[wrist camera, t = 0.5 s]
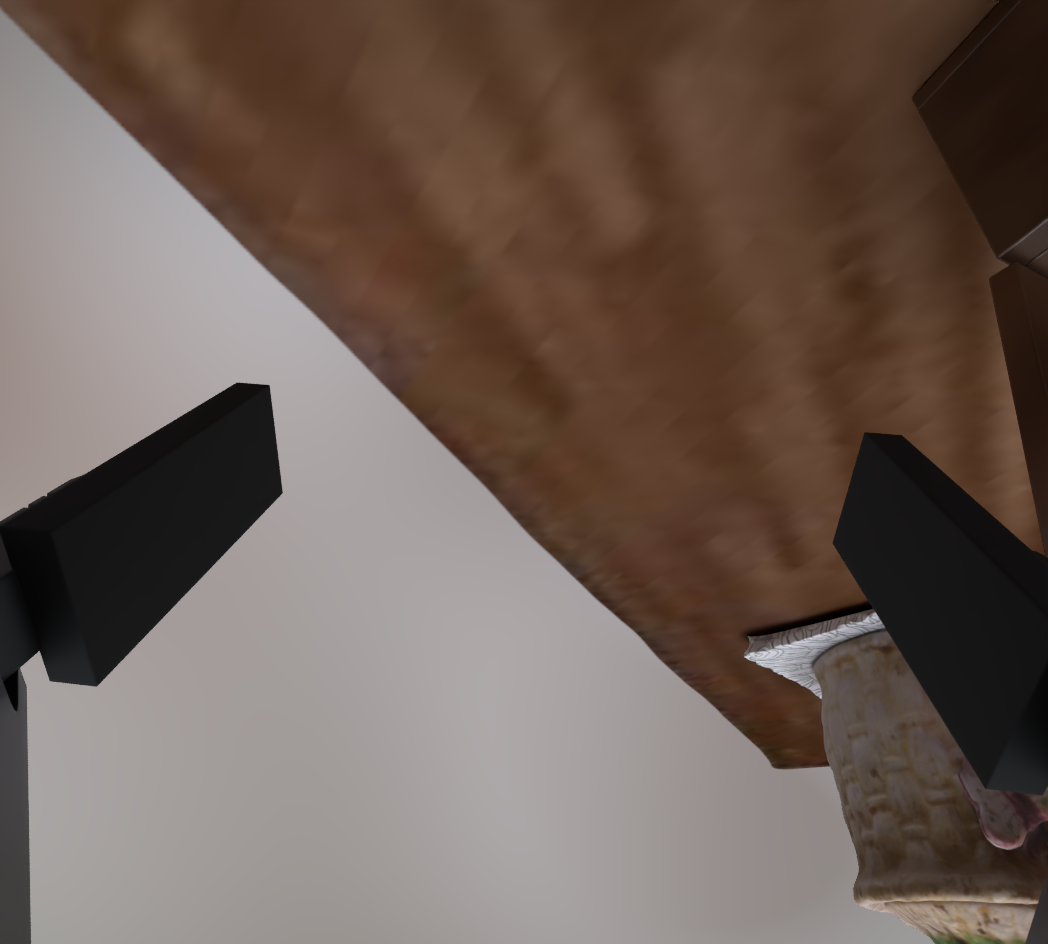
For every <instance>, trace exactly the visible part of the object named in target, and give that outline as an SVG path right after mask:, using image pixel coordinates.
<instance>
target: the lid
mask: <svg viewBox="0 0 1048 944" xmlns="http://www.w3.org/2000/svg"><path fill="white" fill-rule="evenodd" d="M989 282H990V287H991V292H992V297H993V302H994V307H995V312H996V316H997V321H998V326H999V331H1000V336H1001V341H1002V346H1003V351H1004V356H1005V361H1006V365H1007V370H1008V375H1009V380H1010V385H1011V390H1012V395H1013V400H1014V405H1015V410H1016V414H1017V419H1018V424H1019V429H1020V434H1021V439H1022V444H1023V449H1024V454H1025V459H1026V463H1027V468H1028V473H1029V478H1030V483H1031V488H1032V493H1033V498H1034V503H1035V508H1036V513H1037V517H1038V522H1039V527H1040V532H1041V537H1042V542H1043V547H1044V552H1045V557H1047V558H1048V280H1047V279H1046V278H1044V277H1042V276H1040V275H1039V274H1037V273H1035V272H1034V271H1032V270H1030V269H1028V268H1027V267H1025V266H1023V265H1021V264H1020V263H1018V262H1015V263H1013V264H1011V265H1009V266H1008V267H1006V268H1005V269H1003V270H1001V271H1000V272H998V273H996V274H995V275H993V276H991V277H990V278H989Z"/></svg>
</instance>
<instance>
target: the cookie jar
mask: <svg viewBox="0 0 1048 944" xmlns="http://www.w3.org/2000/svg"><path fill="white" fill-rule="evenodd" d="M748 638H749V641H750V644H749V647H748V649H747V650H746V652H745V653H744V657H745V658H747V659H749V660H751V661H755V662H756V663H757V664H758V665H761V666H763V667H765V668H770V669H772V670H773V671H774V672H776V673H778V674H779V675H783V676H784V677H786V678H788V679H790V680H793V681H796V682H797V683H799V684H800V685H802V686H804V687H807V688H808V689H810V690H811V691H812V692H813V693H814V694H815V695H816V696H819V698H820V699H822V724H823V728H824V746H825V751H826V755H827V760H828V762H829V764H830V767H831V769H832V770H833V773H834V777H835V781H836V785H837V789H838V791H839V793H840V799H841V806H842V811H843V815H844V819H845V822H846V824H847V826H848V829H849V832H850V835H851V838H852V842H853V844H854V846H855V849H856V853H857V859H858V865H859V873H858V876H857V879H856V882H855V884H854V888H853V890H854V900H855V902H856V903H857V904H858V905H860V906H861V907H863V908H867V909H872V910H875V911H878V912H889V913H891V914H895V915H896V916H897V917H898V918H899V919H900V920H901V921H902V922H904V923H905V924H906V925H908V926H910V927H912V928H915V929H917V930H919V931H920V932H922V933H924V934H926V935H927V936H929V937H930V938H931V939H932V940H933V942H934V943H935V944H1025V942H1026V939H1027V936H1028V933H1029V930H1030V927H1031V923H1032V920H1033V917H1034V914H1035V911H1036V908H1037V905H1038V901H1039V898H1040V895H1041V892H1042V889H1043V886H1044V882H1045V879H1046V876H1047V873H1048V846H1047V843H1048V787H1047V789H1046V790H1045V792H1044V794H1043V795H1034V794H1025V793H1017V792H1008V791H999V790H991V789H985V788H984V786H983V784H982V783H981V781H980V780H979V778H978V776H977V775H976V773H975V772H974V770H973V768H972V767H971V765H970V764H969V762H968V760H967V759H966V757H965V755H964V754H963V752H962V751H961V749H960V747H959V746H958V744H957V743H956V741H955V739H954V738H953V736H952V735H951V733H950V731H949V730H948V728H947V727H946V725H945V723H944V722H943V720H942V718H941V717H940V715H939V714H938V712H937V710H936V709H935V707H934V706H933V704H932V702H931V701H930V699H929V698H928V696H927V694H926V693H925V691H924V690H923V688H922V686H921V685H920V683H919V681H918V680H917V678H916V677H915V675H914V673H913V672H912V670H911V669H910V667H909V665H908V664H907V662H906V661H905V659H904V657H903V656H902V654H901V653H900V651H899V649H898V648H897V646H896V644H895V643H894V641H893V640H892V638H891V636H890V635H889V633H888V632H887V630H886V628H885V627H884V625H883V624H882V622H881V620H880V619H879V617H878V615H877V614H876V612H875V611H874V609H871V610H867V611H863V612H859V613H855V614H851V615H848V616H844V617H840V618H836V619H832V620H828V621H824V622H820V623H816V624H811V625H807V626H803V627H799V628H795V629H790V630H786V631H782V632H778V633H774V634H769V635H764V636H753V637H750V636H748Z"/></svg>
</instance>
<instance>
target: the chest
mask: <svg viewBox="0 0 1048 944" xmlns="http://www.w3.org/2000/svg"><path fill="white" fill-rule="evenodd" d="M912 100H913V102H914V104H915V106H916V108H917V109H918V111H919V113H920V115H921V117H922V119H923V121H924V123H925V125H926V126H927V128H928V130H929V132H930V134H931V136H932V138H933V140H934V141H935V143H936V145H937V147H938V149H939V151H940V153H941V154H942V156H943V158H944V160H945V162H946V164H947V166H948V168H949V169H950V171H951V173H952V175H953V177H954V179H955V181H956V182H957V184H958V186H959V188H960V190H961V192H962V194H963V196H964V197H965V199H966V201H967V203H968V205H969V207H970V209H971V210H972V212H973V214H974V216H975V218H976V220H977V222H978V224H979V225H980V227H981V229H982V231H983V233H984V235H985V237H986V238H987V240H988V242H989V244H990V246H991V248H992V250H993V252H994V253H995V255H996V257H997V258H998V259H999V260H1001V261H1003V262H1005V263H1006V264H1008V265H1011V264H1013V263H1015V262H1018V263H1020V264H1021V265H1023V266H1025V267H1027V268H1028V269H1030V270H1032V271H1034V272H1035V273H1037V274H1039V275H1040V276H1042V277H1044V278H1046V279H1047V280H1048V0H1002V1H1001V2H1000V3H999V4H998V5H997V6H996V7H995V8H994V10H993V11H992V12H991V13H990V14H989V15H988V16H987V17H986V18H985V19H984V20H983V22H982V23H981V24H980V25H979V26H978V27H977V28H976V29H975V30H974V31H973V32H972V34H971V35H970V36H969V37H968V38H967V39H966V40H965V41H964V42H963V43H962V44H961V46H960V47H959V48H958V49H957V50H956V51H955V52H954V53H953V54H952V55H951V56H950V58H949V59H948V60H947V61H946V62H945V63H944V64H943V65H942V66H941V67H940V68H939V69H938V71H937V72H936V73H935V74H934V75H933V76H932V77H931V78H930V79H929V80H928V81H927V83H926V84H925V85H924V86H923V87H922V88H921V89H920V90H919V91H918V92H917V93H916V95H915V96H914V97H913V98H912Z"/></svg>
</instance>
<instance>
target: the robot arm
mask: <svg viewBox="0 0 1048 944" xmlns="http://www.w3.org/2000/svg"><path fill="white" fill-rule="evenodd" d="M279 468H280V467H279V459H278V451H277V443H276V435H275V427H274V418H273V411H272V402H271V394H270V386H269V385H260V384H248V383H236V384H234V385H232V386H231V387H229V388H227V389H226V390H224V391H222V392H221V393H219V394H217V395H216V396H214V397H212V398H211V399H209V400H207V401H206V402H204V403H202V404H201V405H199V406H197V407H196V408H194V409H192V410H191V411H189V412H187V413H186V414H184V415H183V416H181V417H179V418H177V419H176V420H174V421H173V422H171V423H169V424H168V425H166V426H164V427H163V428H161V429H159V430H158V431H156V432H154V433H153V434H151V435H149V436H148V437H146V438H144V439H143V440H141V441H139V442H138V443H136V444H134V445H133V446H131V447H129V448H128V449H126V450H124V451H123V452H121V453H119V454H118V455H116V456H114V457H113V458H111V459H109V460H108V461H106V462H105V463H103V464H101V465H100V466H98V467H96V468H95V469H93V470H91V471H90V472H88V473H87V474H85V475H82V476H79V477H77V478H74V479H71V480H69V481H67V482H66V483H64V484H62V485H61V486H59V487H57V488H56V489H54V490H52V491H51V492H49V493H47V496H42V497H41V498H39V499H37V500H36V501H34V502H32V503H31V504H29V506H28V508H23V509H20V510H19V511H17V512H15V513H14V514H12V515H10V516H9V517H7V518H5V519H4V520H2V521H0V944H31V925H30V924H31V922H30V868H29V866H30V863H29V810H28V809H29V807H28V806H29V804H28V749H27V691H26V690H27V689H26V688H27V687H26V684H25V681H24V679H23V676H22V673H21V670H20V667H21V666H22V665H24V664H25V663H26V662H27V661H28V660H29V659H30V658H32V657H33V656H34V655H35V654H36V653H37V652H38V651H40V653H41V655H42V659H43V662H44V665H45V668H46V671H47V674H48V677H49V680H50V681H53V682H62V683H71V684H80V685H88V686H98V685H99V684H100V683H101V682H102V681H103V679H105V678H106V676H107V675H108V674H109V673H110V672H111V671H112V670H113V669H114V668H115V667H116V666H117V665H118V664H119V663H120V662H121V661H122V660H123V659H124V658H125V656H127V655H128V654H129V652H130V651H131V650H132V649H133V648H134V647H135V646H136V645H137V644H138V643H139V642H140V641H141V640H142V639H143V638H144V637H145V636H146V635H147V634H148V633H149V631H151V630H152V629H153V628H154V627H155V625H156V624H157V623H158V622H159V621H160V620H161V619H162V618H163V617H164V616H165V615H166V614H167V613H168V612H169V611H170V610H171V609H172V608H173V607H174V606H175V605H176V604H177V602H178V601H179V600H180V599H181V598H182V597H183V596H184V595H185V594H186V593H187V592H188V591H189V590H190V589H191V588H192V587H193V586H194V585H195V584H196V583H197V582H198V581H199V580H200V579H201V578H202V577H203V575H204V574H205V573H206V572H207V571H208V570H209V569H210V568H211V567H212V566H213V565H214V564H215V563H216V562H217V561H218V560H219V559H220V558H221V557H222V556H223V555H224V554H225V553H226V551H227V550H228V549H229V548H230V547H231V546H232V545H233V544H234V543H235V542H236V541H237V540H238V539H239V538H240V537H241V536H242V535H243V534H244V533H245V532H246V531H247V530H248V529H249V528H250V526H252V524H253V523H254V522H255V521H256V520H257V519H258V518H259V517H260V516H261V515H262V514H263V513H264V512H265V510H267V509H268V508H269V507H270V506H271V505H272V504H273V503H274V501H275V500H276V499H277V498H278V497H279V496H280V495H281V494H282V493H283V492H282V484H281V476H280V469H279ZM833 545H834V546H835V548H836V550H837V551H838V553H839V554H840V556H841V558H842V559H843V561H844V562H845V564H846V566H847V567H848V569H849V570H850V572H851V574H852V575H853V577H854V578H855V580H856V582H857V583H858V585H859V587H860V588H861V590H862V591H863V593H864V595H865V596H866V598H867V599H868V601H869V603H870V604H871V606H872V607H873V609H874V611H875V612H876V614H877V615H878V617H879V619H880V620H881V622H882V624H883V625H884V627H885V628H886V630H887V632H888V633H889V635H890V636H891V638H892V640H893V641H894V643H895V644H896V646H897V648H898V649H899V651H900V653H901V654H902V656H903V657H904V659H905V661H906V662H907V664H908V665H909V667H910V669H911V670H912V672H913V673H914V675H915V677H916V678H917V680H918V681H919V683H920V685H921V686H922V688H923V690H924V691H925V693H926V694H927V696H928V698H929V699H930V701H931V702H932V704H933V706H934V707H935V709H936V710H937V712H938V714H939V715H940V717H941V718H942V720H943V722H944V723H945V725H946V727H947V728H948V730H949V731H950V733H951V735H952V736H953V738H954V739H955V741H956V743H957V744H958V746H959V747H960V749H961V751H962V752H963V754H964V755H965V757H966V759H967V760H968V762H969V764H970V765H971V767H972V768H973V770H974V772H975V773H976V775H977V776H978V778H979V780H980V781H981V783H982V784H983V786H984V788H985V789H991V790H999V791H1008V792H1017V793H1025V794H1034V795H1043V794H1044V792H1045V790H1046V789H1047V787H1048V558H1047V557H1045V556H1044V555H1042V554H1040V553H1038V552H1036V551H1032V550H1030V549H1029V548H1028V547H1027V546H1026V545H1025V544H1024V543H1023V542H1021V541H1020V540H1019V539H1018V538H1017V537H1016V536H1015V535H1014V534H1012V533H1011V532H1010V531H1009V530H1008V529H1007V528H1006V527H1005V526H1003V525H1002V524H1001V523H1000V522H999V521H998V520H997V519H996V518H994V517H993V516H992V515H991V514H990V513H989V512H988V511H987V510H985V509H984V508H983V507H982V506H981V505H980V504H979V503H978V502H976V501H975V500H974V499H973V498H972V497H971V496H970V495H968V494H967V493H966V492H965V491H964V490H963V489H962V488H961V487H959V486H958V485H957V484H956V483H955V482H954V481H953V480H952V479H950V478H949V477H948V476H947V475H946V474H945V473H944V472H943V471H941V470H940V469H939V468H938V467H937V466H936V465H935V464H934V463H932V462H931V461H930V460H929V459H928V458H927V457H926V456H925V455H923V454H922V453H921V452H920V451H919V450H918V449H917V448H916V447H914V446H913V445H912V444H911V443H910V442H909V441H908V440H907V439H905V438H904V437H903V436H902V435H892V434H879V433H866V432H865V433H864V436H863V440H862V443H861V447H860V450H859V454H858V457H857V461H856V464H855V467H854V471H853V474H852V478H851V481H850V485H849V488H848V492H847V495H846V499H845V502H844V506H843V509H842V512H841V516H840V519H839V523H838V526H837V530H836V533H835V537H834V540H833ZM1047 846H1048V843H1047ZM1025 944H1048V873H1047V876H1046V879H1045V882H1044V886H1043V889H1042V892H1041V895H1040V898H1039V901H1038V905H1037V908H1036V911H1035V914H1034V917H1033V920H1032V923H1031V927H1030V930H1029V933H1028V936H1027V939H1026V942H1025Z"/></svg>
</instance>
